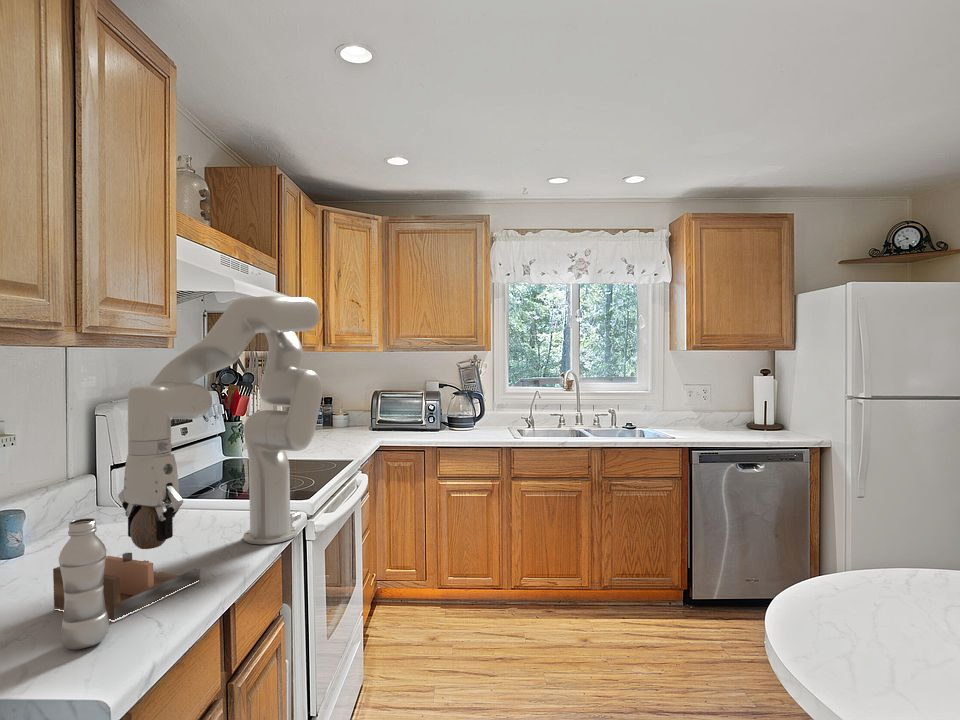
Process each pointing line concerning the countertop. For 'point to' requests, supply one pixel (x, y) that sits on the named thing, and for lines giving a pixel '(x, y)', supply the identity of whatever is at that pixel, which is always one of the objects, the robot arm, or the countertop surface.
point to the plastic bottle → (83, 586)
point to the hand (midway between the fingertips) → (150, 536)
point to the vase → (145, 528)
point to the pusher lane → (126, 603)
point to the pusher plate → (130, 573)
